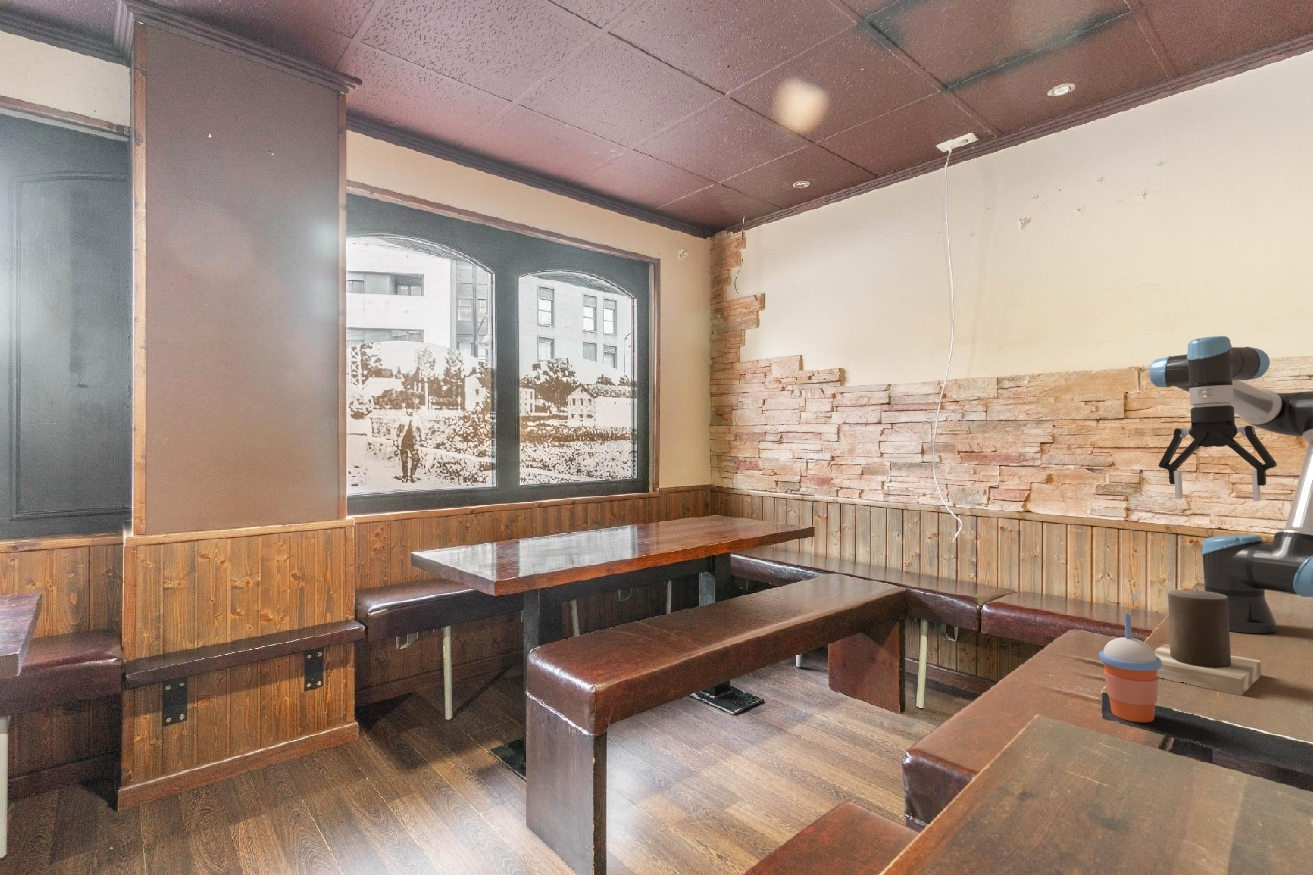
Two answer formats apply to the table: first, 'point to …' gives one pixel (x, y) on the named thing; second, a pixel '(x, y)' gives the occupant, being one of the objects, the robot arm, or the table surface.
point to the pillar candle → (1199, 628)
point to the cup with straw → (1131, 676)
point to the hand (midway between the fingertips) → (1216, 499)
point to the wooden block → (1210, 673)
